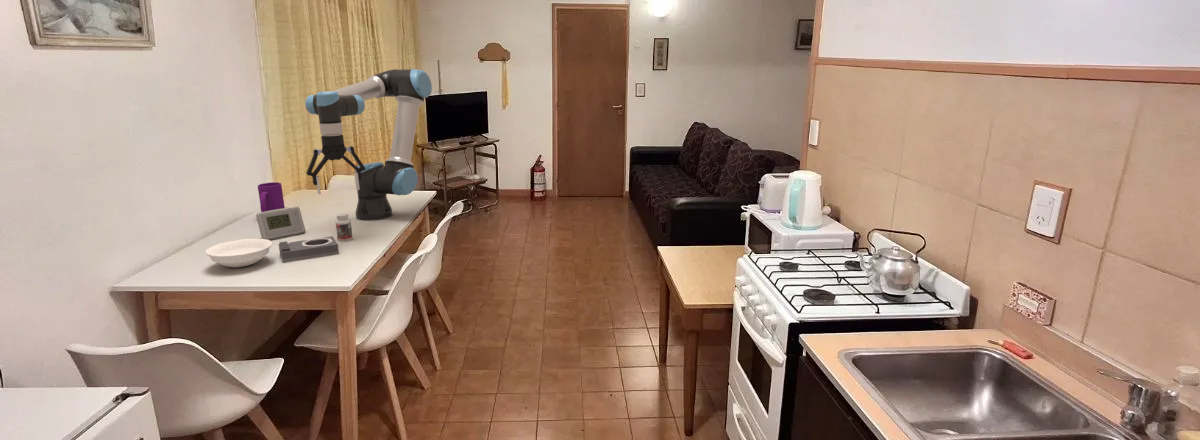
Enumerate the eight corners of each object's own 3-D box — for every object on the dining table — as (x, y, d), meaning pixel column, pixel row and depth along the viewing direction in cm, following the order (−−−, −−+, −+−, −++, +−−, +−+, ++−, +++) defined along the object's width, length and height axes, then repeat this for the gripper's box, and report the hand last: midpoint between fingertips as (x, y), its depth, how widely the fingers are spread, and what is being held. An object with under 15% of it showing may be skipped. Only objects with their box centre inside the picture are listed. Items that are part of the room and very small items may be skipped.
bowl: (204, 278, 203) (200, 259, 201) (212, 260, 220) (209, 242, 219) (273, 269, 210) (270, 251, 209) (276, 252, 228) (273, 235, 226)
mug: (289, 215, 281) (284, 181, 277) (276, 224, 266) (271, 189, 262) (267, 216, 279) (262, 182, 276) (253, 225, 265) (247, 190, 261)
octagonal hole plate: (333, 245, 236) (332, 234, 235) (338, 253, 226) (337, 242, 225) (279, 253, 227) (278, 241, 226) (282, 262, 217) (281, 250, 216)
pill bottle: (335, 241, 240) (332, 216, 238) (340, 237, 246) (337, 213, 243) (350, 241, 241) (347, 216, 238) (354, 237, 246) (351, 212, 243)
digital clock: (261, 242, 241) (256, 215, 238) (258, 236, 248) (254, 210, 245) (307, 235, 249) (303, 209, 247) (303, 230, 257) (300, 204, 254)
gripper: (365, 131, 242) (371, 185, 247) (293, 136, 230) (301, 193, 235) (369, 133, 236) (375, 189, 241) (295, 138, 224) (303, 197, 229)
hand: (338, 191), depth 238 cm, fingers open, 13 cm apart
